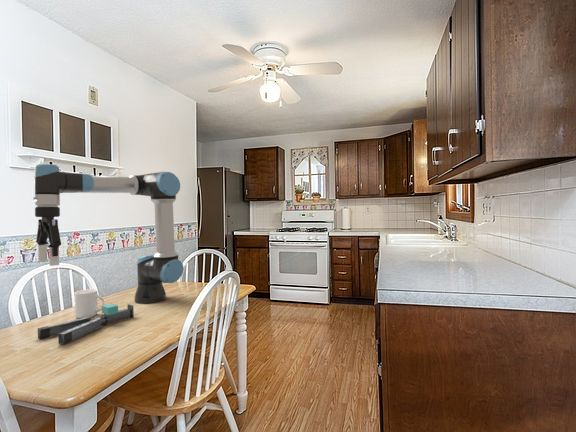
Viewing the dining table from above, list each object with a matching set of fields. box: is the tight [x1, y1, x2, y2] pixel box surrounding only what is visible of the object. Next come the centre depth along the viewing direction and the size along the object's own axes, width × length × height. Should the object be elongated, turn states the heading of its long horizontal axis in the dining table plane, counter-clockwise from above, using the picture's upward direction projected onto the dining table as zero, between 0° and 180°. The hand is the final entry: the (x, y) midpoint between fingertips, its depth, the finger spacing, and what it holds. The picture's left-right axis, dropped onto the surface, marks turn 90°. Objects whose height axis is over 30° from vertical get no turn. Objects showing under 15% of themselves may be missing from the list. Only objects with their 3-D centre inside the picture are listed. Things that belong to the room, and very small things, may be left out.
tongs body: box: [37, 303, 135, 340], centre depth 136 cm, size 33×6×5 cm, turn 141°
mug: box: [74, 288, 105, 319], centre depth 151 cm, size 9×12×11 cm
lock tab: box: [101, 302, 119, 315], centre depth 141 cm, size 4×6×3 cm, turn 51°
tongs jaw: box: [57, 318, 103, 345], centre depth 126 cm, size 17×3×4 cm, turn 166°
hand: (48, 263), depth 127 cm, fingers open, 13 cm apart
